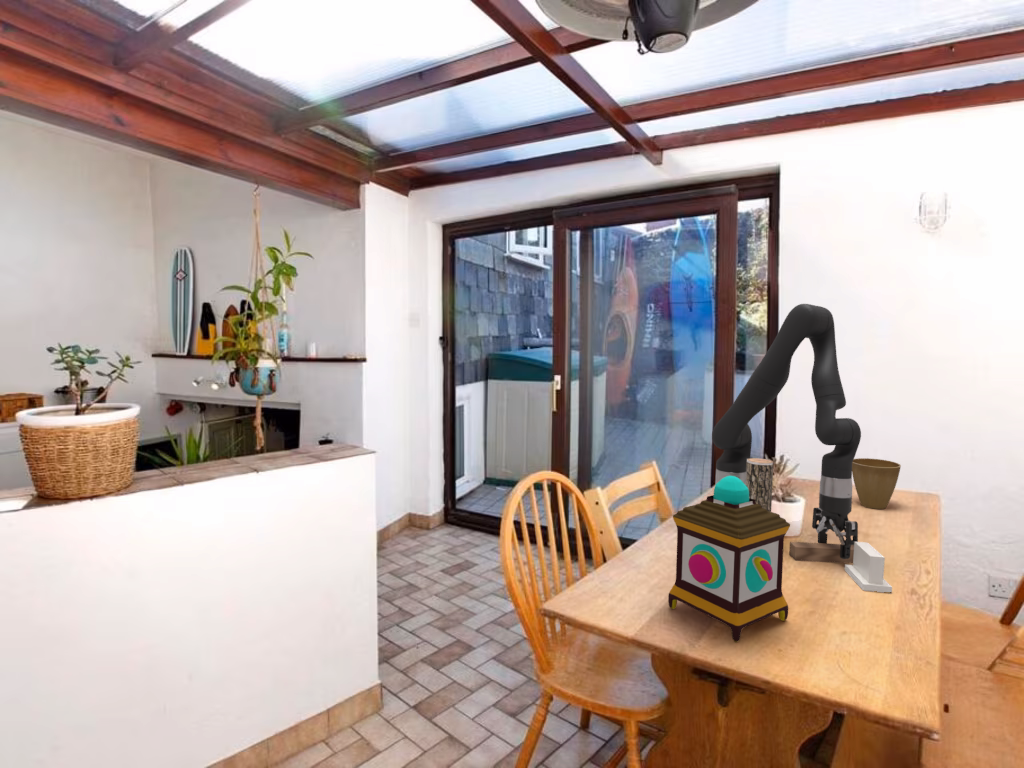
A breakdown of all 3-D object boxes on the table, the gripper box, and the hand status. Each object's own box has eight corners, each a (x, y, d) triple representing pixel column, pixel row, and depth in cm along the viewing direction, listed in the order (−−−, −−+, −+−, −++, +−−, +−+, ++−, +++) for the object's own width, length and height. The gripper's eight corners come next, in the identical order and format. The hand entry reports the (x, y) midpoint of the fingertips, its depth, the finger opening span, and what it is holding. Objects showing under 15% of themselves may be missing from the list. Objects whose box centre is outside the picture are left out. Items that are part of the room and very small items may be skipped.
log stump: (769, 545, 158) (773, 459, 156) (769, 554, 152) (773, 464, 150) (743, 542, 161) (747, 457, 159) (742, 549, 155) (746, 461, 153)
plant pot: (850, 498, 208) (852, 456, 207) (898, 505, 200) (901, 461, 198) (846, 507, 196) (849, 463, 195) (897, 515, 188) (900, 469, 186)
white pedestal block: (862, 590, 130) (864, 557, 129) (844, 570, 142) (846, 539, 141) (891, 593, 129) (893, 559, 128) (870, 572, 140) (872, 541, 140)
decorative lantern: (717, 586, 132) (721, 461, 129) (798, 622, 115) (805, 479, 113) (658, 607, 121) (662, 471, 119) (738, 649, 104) (744, 493, 102)
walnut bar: (794, 561, 148) (795, 547, 147) (789, 555, 152) (789, 541, 151) (874, 565, 145) (875, 550, 145) (866, 559, 149) (867, 545, 149)
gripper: (868, 499, 141) (866, 562, 142) (830, 485, 155) (827, 542, 156) (841, 500, 140) (839, 563, 141) (805, 486, 154) (802, 543, 155)
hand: (833, 552), depth 148 cm, fingers open, 8 cm apart
